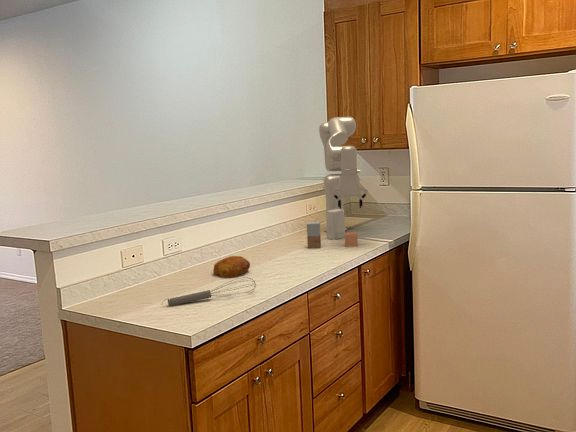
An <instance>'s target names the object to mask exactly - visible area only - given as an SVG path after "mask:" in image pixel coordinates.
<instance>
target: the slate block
mask: <svg viewBox="0 0 576 432" xmlns="http://www.w3.org/2000/svg"><path fill="white" fill-rule="evenodd" d="M306 236H320V237H321V221H307V223H306Z"/></svg>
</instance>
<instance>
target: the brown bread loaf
mask: <svg viewBox="0 0 576 432" xmlns="http://www.w3.org/2000/svg"><path fill="white" fill-rule="evenodd" d="M250 267H251V263H250V261H249V260H248V259H246V258H245V257H243V256H239V255H238V256H236V255H232V256H231V255H230V256H228V257H225V258H223V259H220V260H218V261H217V262H216V263H214V265H213V274H214V276H217V277H221V278H222V277H223V278H235V277H237V276H241V275H242V274H244V273H246V272H248V270H250Z"/></svg>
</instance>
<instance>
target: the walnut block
mask: <svg viewBox="0 0 576 432" xmlns="http://www.w3.org/2000/svg"><path fill="white" fill-rule="evenodd" d="M306 236H307V235H306ZM306 240H307V249H321V245H322V243H321V242H322V240H321V235H320V236H307V237H306Z"/></svg>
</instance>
